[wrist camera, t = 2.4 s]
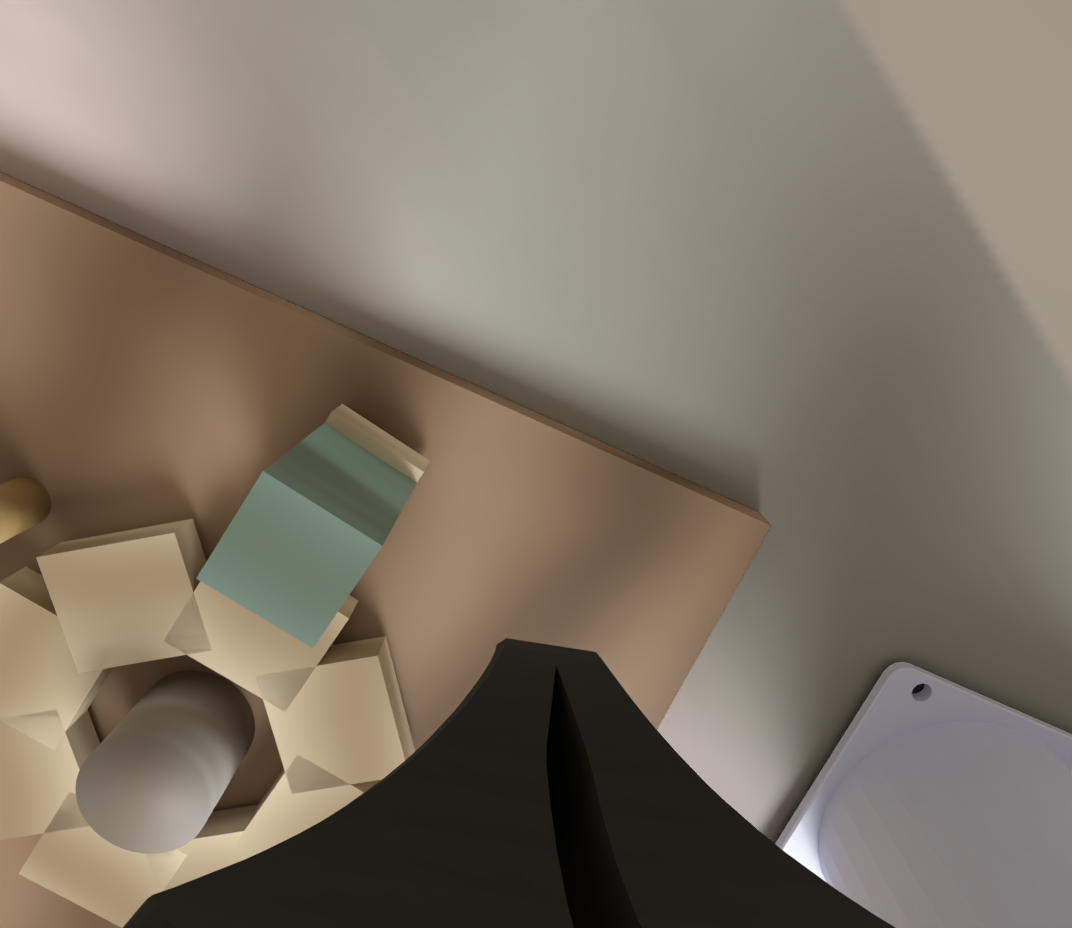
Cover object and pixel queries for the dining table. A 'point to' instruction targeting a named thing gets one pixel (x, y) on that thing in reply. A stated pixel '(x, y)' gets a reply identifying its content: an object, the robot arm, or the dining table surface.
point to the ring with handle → (210, 660)
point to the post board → (234, 467)
